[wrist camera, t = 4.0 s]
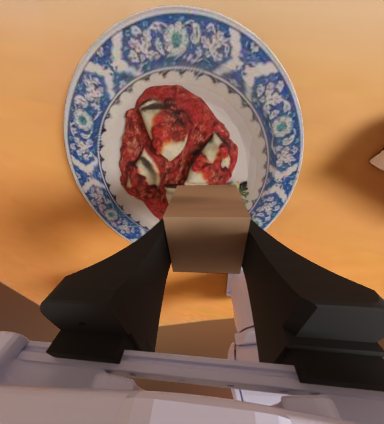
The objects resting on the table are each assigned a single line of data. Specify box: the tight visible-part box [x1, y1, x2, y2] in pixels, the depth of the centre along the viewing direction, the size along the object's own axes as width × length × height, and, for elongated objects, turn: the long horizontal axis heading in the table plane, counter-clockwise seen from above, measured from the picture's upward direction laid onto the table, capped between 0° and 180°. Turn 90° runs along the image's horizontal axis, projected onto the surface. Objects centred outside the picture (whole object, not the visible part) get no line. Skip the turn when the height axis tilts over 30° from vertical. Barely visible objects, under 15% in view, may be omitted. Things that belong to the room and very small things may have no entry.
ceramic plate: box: [63, 5, 304, 243], centre depth 17 cm, size 26×26×3 cm
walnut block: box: [163, 185, 251, 274], centre depth 11 cm, size 4×4×4 cm
